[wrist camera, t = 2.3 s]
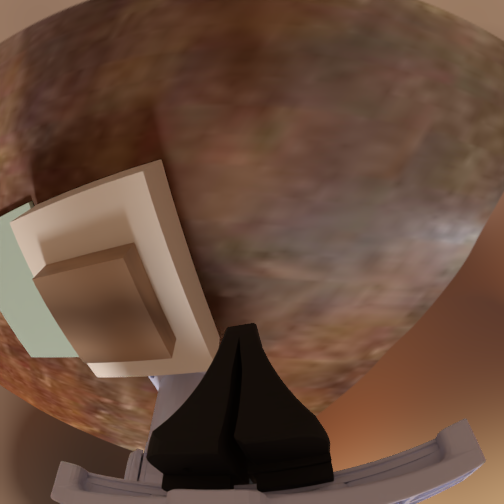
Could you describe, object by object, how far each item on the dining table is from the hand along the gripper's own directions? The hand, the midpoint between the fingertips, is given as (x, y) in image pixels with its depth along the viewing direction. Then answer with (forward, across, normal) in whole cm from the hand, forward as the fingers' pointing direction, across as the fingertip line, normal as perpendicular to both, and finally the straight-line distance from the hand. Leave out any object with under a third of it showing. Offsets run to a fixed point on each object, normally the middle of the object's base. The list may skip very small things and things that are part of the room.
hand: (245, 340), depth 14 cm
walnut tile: (+5, +10, 0) cm, 11 cm away
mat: (+9, +23, 0) cm, 25 cm away
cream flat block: (+9, +10, 0) cm, 14 cm away
